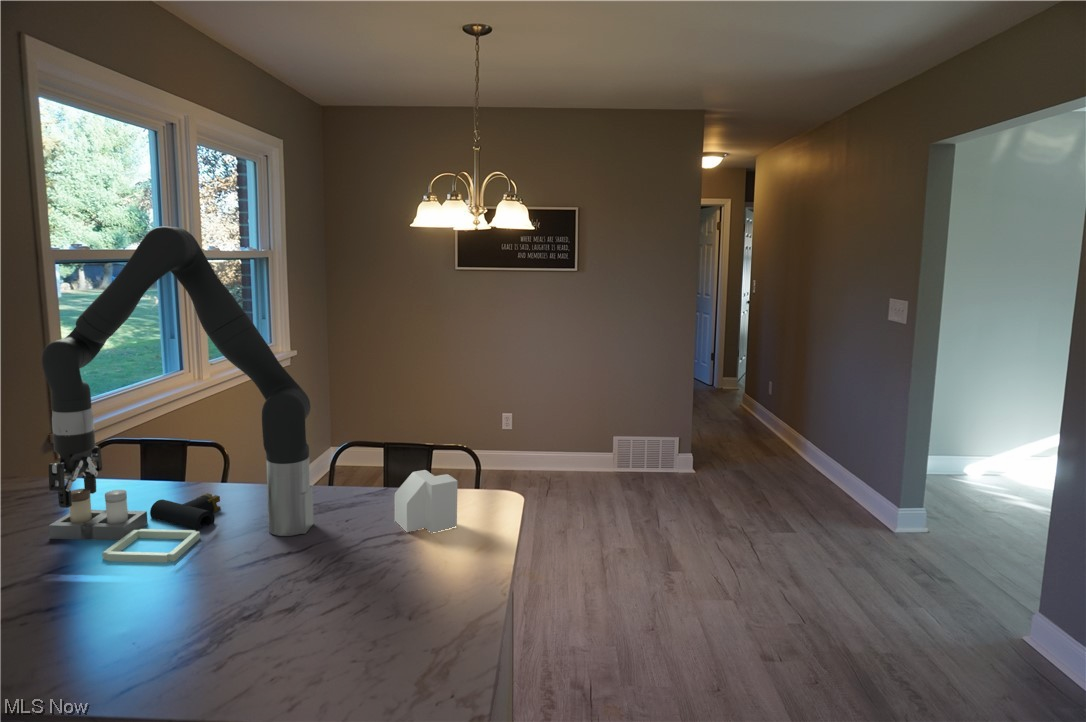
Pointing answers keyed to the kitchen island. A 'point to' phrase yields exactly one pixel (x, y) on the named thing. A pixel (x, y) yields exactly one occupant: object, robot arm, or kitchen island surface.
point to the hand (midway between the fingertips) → (78, 499)
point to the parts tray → (116, 555)
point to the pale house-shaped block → (426, 502)
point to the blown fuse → (80, 506)
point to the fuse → (116, 506)
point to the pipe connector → (187, 511)
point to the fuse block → (97, 527)
